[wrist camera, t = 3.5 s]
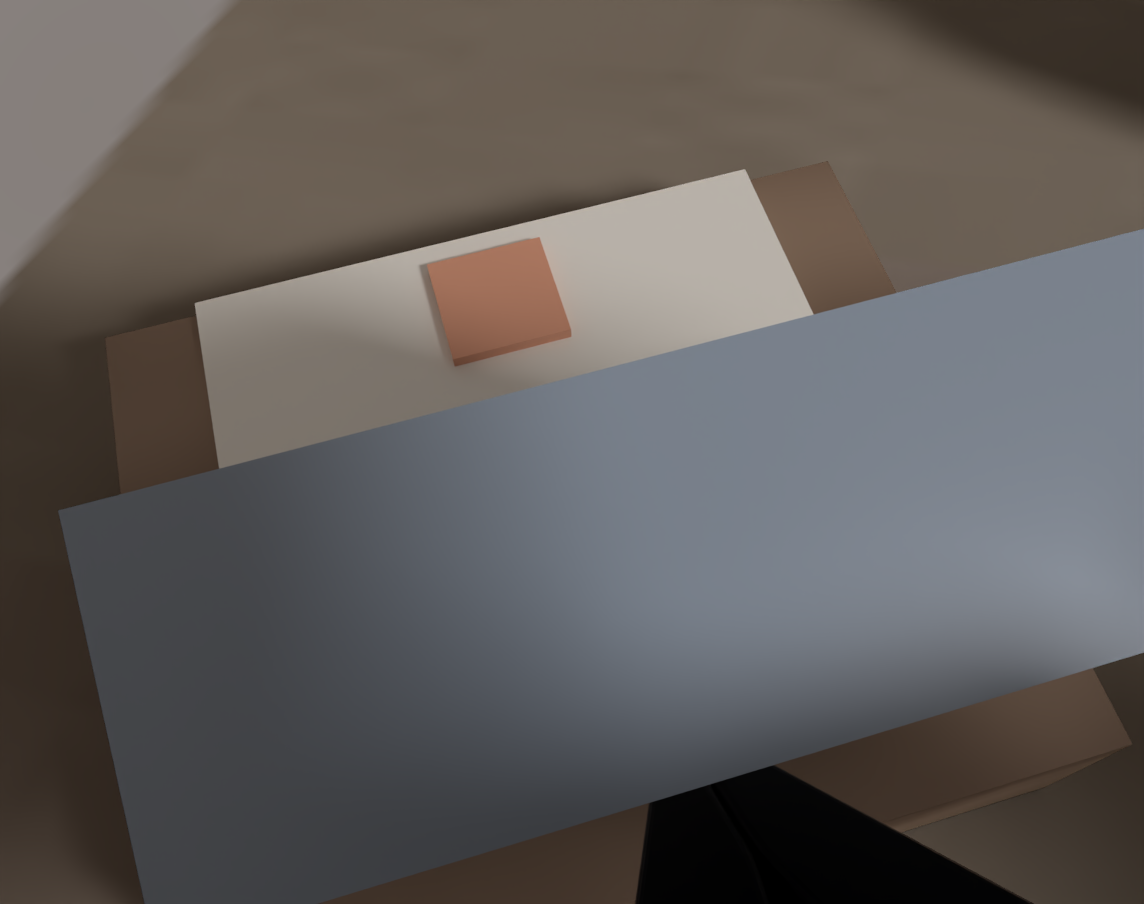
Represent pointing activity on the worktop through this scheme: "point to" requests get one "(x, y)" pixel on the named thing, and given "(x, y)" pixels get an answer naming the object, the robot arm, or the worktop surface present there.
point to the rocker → (619, 582)
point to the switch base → (847, 772)
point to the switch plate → (490, 315)
